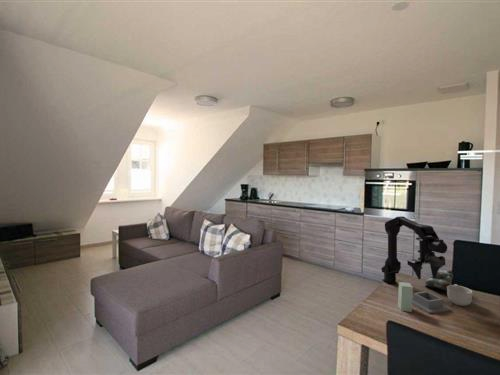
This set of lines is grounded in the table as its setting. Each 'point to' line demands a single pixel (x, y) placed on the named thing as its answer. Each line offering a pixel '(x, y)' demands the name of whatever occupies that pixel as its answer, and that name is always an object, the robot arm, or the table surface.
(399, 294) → the sage block
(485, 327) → the table surface
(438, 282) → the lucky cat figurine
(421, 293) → the grey square socket base
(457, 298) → the teacup
